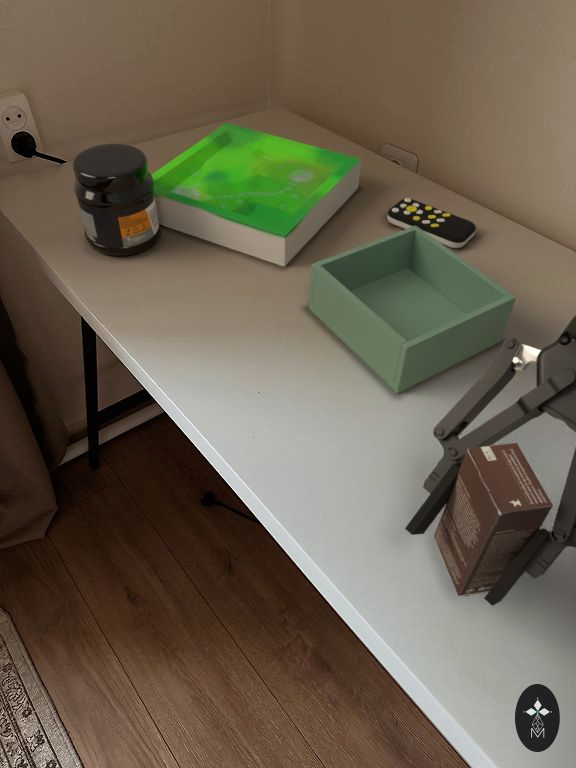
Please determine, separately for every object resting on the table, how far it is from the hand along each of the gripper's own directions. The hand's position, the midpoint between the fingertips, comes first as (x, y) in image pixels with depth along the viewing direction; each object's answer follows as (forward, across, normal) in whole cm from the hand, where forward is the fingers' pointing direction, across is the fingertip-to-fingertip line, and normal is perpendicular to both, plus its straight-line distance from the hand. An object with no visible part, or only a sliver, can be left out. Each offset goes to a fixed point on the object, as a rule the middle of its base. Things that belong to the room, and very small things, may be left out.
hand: (452, 563), depth 49 cm
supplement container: (-1, +65, -11) cm, 66 cm away
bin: (-13, +26, -23) cm, 37 cm away
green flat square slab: (-16, +61, -26) cm, 68 cm away
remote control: (-27, +39, -37) cm, 60 cm away
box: (0, 0, -5) cm, 5 cm away
